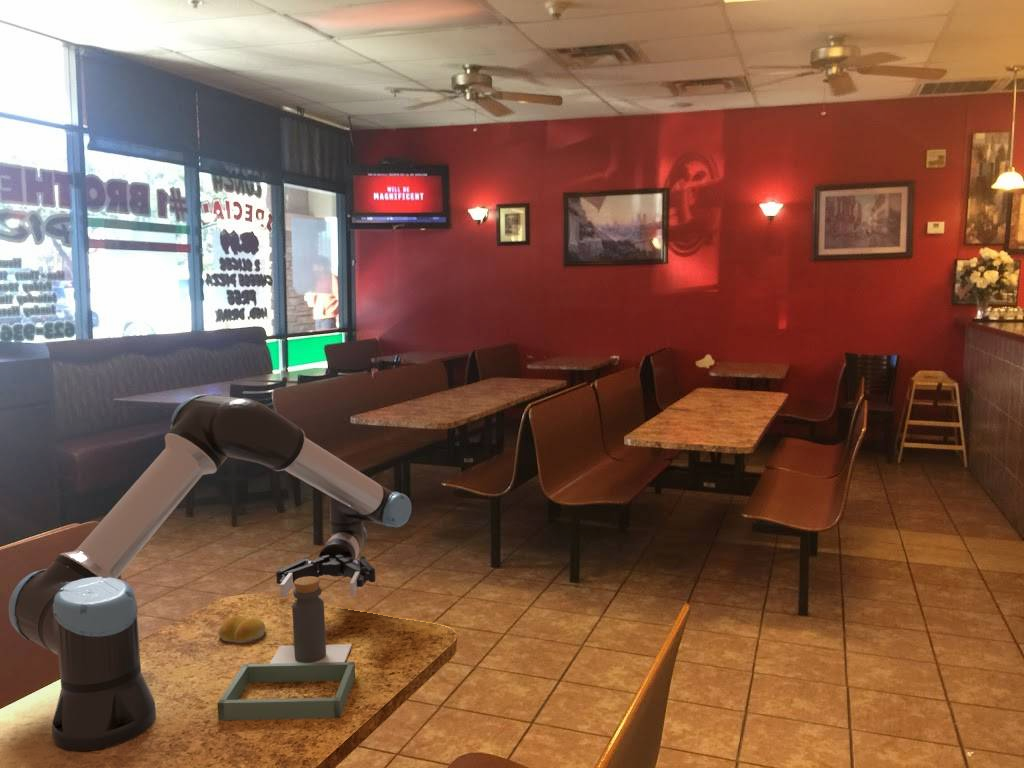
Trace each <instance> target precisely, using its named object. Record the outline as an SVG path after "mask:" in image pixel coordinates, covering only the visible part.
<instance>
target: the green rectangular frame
mask: <svg viewBox="0 0 1024 768" xmlns="http://www.w3.org/2000/svg"><path fill="white" fill-rule="evenodd" d="M355 679H356V662H355V661H346V662H324V663H276V664H269V663H243V665H242V666H241V668H240V669H239V670H238V672H237V674H235V676H234V678H233V679H232V681H231V683H229V686H228V687H227V688H226V689H225V691H224V693H223V694H222V696H221V697H220V698H219V700H218V701H217V716H218V717H217V718H218V721H250V720H251V721H255V720H259V721H261V720H296V719H297V720H301V719H302V720H303V719H304V720H305V719H306V720H307V719H341V717H342V715H343V711H344V709H345V706H346V704H347V701H348V698H349V696H350V693H351V691H352V687H353V685H354V682H355ZM330 681H331V682H332V681H334V682H335V681H338V682H339V681H340V684H339V685H338V689H337V691H336V693H335V696H334V697H310V698H309V697H307V698H304V697H303V698H297V697H296V698H264V699H263V698H262V699H260V698H258V699H255V698H254V699H239V698H240V697H241V695H242V694H243V692H244V690H245V689H246V687H247V686H248V685H249V683H281V682H282V683H285V682H286V683H289V682H290V683H291V682H292V683H293V682H330Z"/></svg>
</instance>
